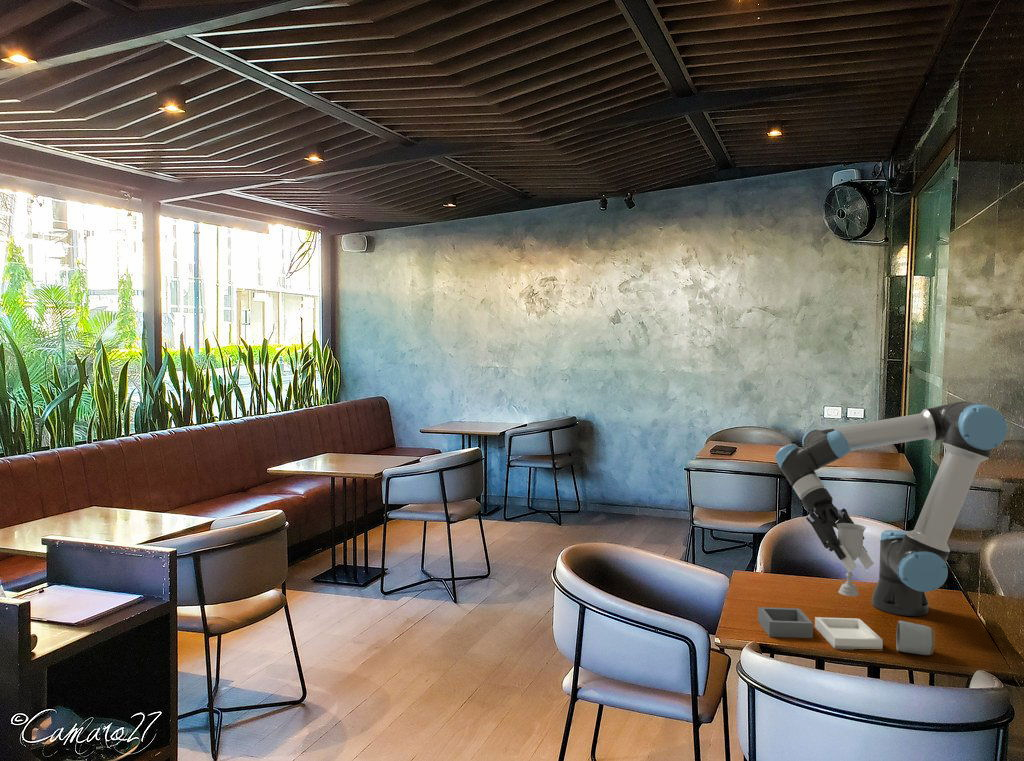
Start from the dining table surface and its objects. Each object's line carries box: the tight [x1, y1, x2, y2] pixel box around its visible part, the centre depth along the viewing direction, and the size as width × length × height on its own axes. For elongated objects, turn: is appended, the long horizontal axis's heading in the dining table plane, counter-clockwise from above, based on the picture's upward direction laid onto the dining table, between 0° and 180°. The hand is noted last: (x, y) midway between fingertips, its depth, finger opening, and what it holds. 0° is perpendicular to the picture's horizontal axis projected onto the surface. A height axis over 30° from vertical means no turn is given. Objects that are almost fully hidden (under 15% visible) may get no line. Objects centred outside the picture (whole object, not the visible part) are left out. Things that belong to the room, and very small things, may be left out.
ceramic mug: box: [895, 620, 936, 656], centre depth 195 cm, size 11×8×8 cm
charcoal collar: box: [757, 606, 814, 639], centre depth 209 cm, size 11×11×4 cm
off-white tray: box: [814, 616, 884, 650], centre depth 203 cm, size 12×15×3 cm
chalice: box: [836, 523, 867, 597], centre depth 202 cm, size 7×7×18 cm
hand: (861, 567), depth 199 cm, fingers closed on chalice, 6 cm apart
